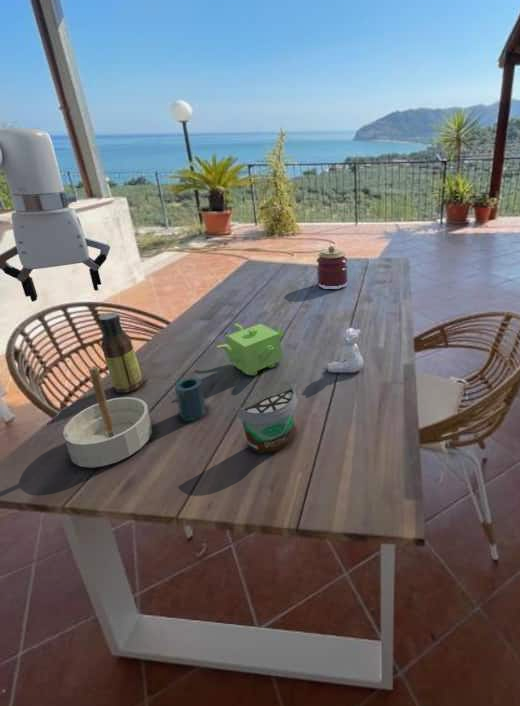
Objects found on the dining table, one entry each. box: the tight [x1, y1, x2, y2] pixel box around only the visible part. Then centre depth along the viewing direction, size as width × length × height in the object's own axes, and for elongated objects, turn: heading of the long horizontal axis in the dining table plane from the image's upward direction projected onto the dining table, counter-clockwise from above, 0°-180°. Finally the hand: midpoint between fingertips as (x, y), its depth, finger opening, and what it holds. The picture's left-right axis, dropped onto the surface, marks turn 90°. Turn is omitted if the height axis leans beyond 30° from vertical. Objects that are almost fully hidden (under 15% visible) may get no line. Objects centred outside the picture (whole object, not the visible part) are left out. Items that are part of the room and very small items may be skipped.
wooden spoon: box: [88, 365, 114, 438], centre depth 76 cm, size 1×3×17 cm, turn 36°
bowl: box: [62, 396, 153, 469], centre depth 78 cm, size 14×14×6 cm
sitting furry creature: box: [327, 327, 365, 374], centre depth 104 cm, size 10×9×12 cm
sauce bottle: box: [98, 312, 143, 394], centre depth 94 cm, size 7×6×20 cm
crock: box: [174, 376, 207, 423], centre depth 86 cm, size 5×5×8 cm
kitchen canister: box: [316, 245, 348, 286], centre depth 166 cm, size 13×13×18 cm
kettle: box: [216, 322, 286, 377], centre depth 105 cm, size 15×14×11 cm
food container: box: [236, 384, 298, 454], centre depth 77 cm, size 12×6×10 cm, turn 129°
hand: (66, 293), depth 75 cm, fingers open, 9 cm apart
